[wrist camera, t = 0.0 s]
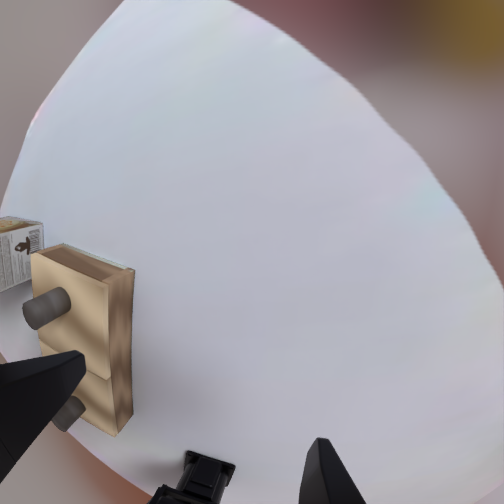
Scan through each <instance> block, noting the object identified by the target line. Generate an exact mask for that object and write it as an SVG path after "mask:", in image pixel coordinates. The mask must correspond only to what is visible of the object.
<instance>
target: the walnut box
mask: <svg viewBox="0 0 504 504" xmlns="http://www.w3.org/2000/svg"><path fill="white" fill-rule="evenodd" d="M37 253H38V254H40V255H42V256H45V257H47V258H49V259H51V260H53V261H55V262H57V263H59V264H62V265H64V266H66V267H68V268H70V269H73V270H75V271H77V272H79V273H82V274H84V275H86V276H88V277H91V278H93V279H96V280H98V281H100V282H103V283H105V284H107V285H109V293H108V331H109V356H110V371H111V376H110V377H111V383H112V393H113V402H114V410H115V417H116V424H117V431H118V433H119V432H120V431H121V430H122V428H123V427H124V426H125V424H126V423H127V422H128V420H129V419H130V418H131V417H132V415H133V400H132V370H131V340H132V309H133V291H134V278H135V270H134V269H131V268H128V267H125V266H122V265H119V264H117V263H114V262H111V261H108V260H106V259H103V258H100V257H98V256H95V255H92V254H90V253H87V252H84V251H82V250H79V249H77V248H74V247H71V246H69V245H66V244H64V243H63V244H59V245H56V246H53V247H49V248H46V249H43V250H39V251H37Z"/></svg>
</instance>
